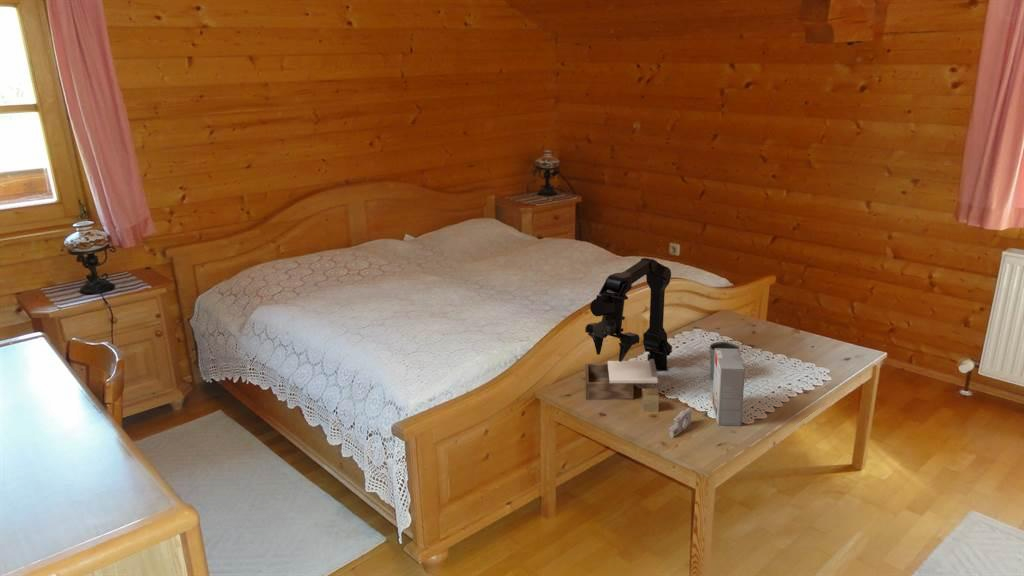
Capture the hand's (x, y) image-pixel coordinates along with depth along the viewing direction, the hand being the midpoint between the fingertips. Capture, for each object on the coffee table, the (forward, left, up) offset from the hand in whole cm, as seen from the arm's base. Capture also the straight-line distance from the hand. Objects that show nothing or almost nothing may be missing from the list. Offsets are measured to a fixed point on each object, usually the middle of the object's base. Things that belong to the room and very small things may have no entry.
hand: (609, 358), depth 240 cm
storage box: (0, -6, -15) cm, 16 cm away
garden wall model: (-21, +22, -15) cm, 34 cm away
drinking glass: (-41, -15, -15) cm, 46 cm away
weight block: (-13, +8, -15) cm, 21 cm away
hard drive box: (-37, +12, -15) cm, 42 cm away
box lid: (-8, -6, -8) cm, 13 cm away
